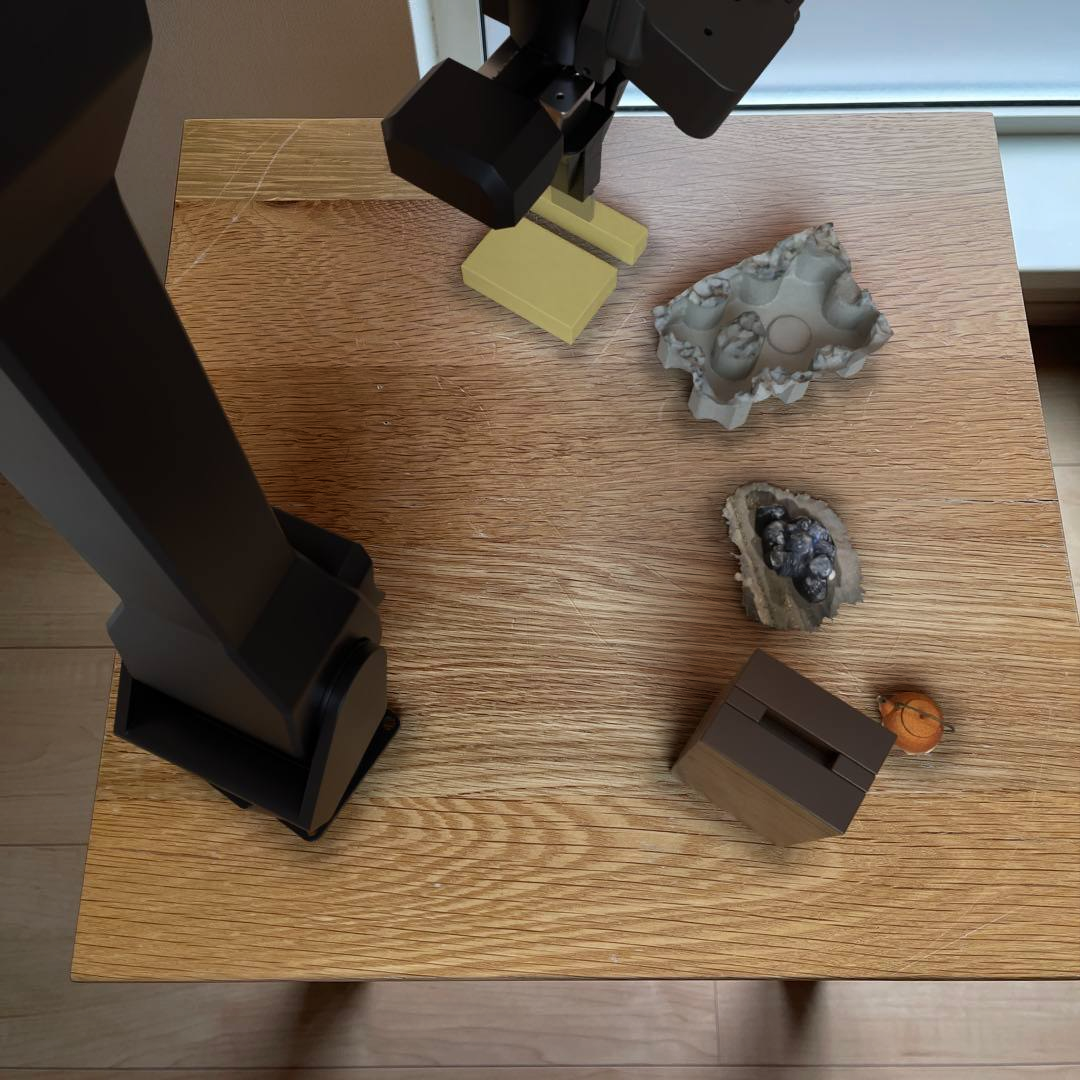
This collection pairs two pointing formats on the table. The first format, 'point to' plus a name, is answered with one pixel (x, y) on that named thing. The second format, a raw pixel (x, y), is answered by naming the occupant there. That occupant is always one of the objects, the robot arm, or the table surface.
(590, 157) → the dark brown angled piece
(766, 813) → the brown slotted box
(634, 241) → the butter pat
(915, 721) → the teapot
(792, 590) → the blue crystal geode
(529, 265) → the butter block
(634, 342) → the table surface
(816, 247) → the egg carton
